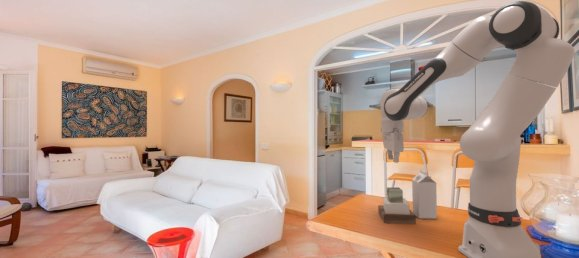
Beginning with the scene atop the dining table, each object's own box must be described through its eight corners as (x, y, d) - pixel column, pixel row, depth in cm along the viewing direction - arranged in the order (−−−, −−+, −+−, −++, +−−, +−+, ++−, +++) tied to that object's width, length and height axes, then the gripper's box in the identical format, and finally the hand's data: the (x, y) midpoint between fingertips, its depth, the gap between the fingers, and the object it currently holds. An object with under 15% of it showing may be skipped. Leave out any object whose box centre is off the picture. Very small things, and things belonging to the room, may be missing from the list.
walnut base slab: (415, 225, 102) (415, 215, 102) (384, 224, 104) (383, 214, 104) (406, 215, 114) (406, 205, 114) (378, 214, 116) (378, 205, 116)
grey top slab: (409, 214, 103) (409, 204, 103) (385, 213, 106) (385, 203, 106) (405, 207, 112) (405, 198, 112) (383, 206, 114) (383, 197, 114)
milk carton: (429, 213, 114) (428, 170, 114) (437, 219, 107) (436, 173, 107) (412, 213, 115) (411, 170, 115) (418, 218, 108) (418, 173, 107)
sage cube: (403, 202, 106) (402, 190, 106) (390, 202, 107) (389, 190, 107) (399, 199, 111) (398, 187, 111) (387, 199, 112) (386, 187, 112)
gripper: (407, 128, 99) (408, 164, 99) (394, 127, 119) (395, 157, 119) (390, 128, 100) (391, 164, 100) (380, 127, 120) (380, 158, 120)
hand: (393, 160), depth 110 cm, fingers open, 8 cm apart
